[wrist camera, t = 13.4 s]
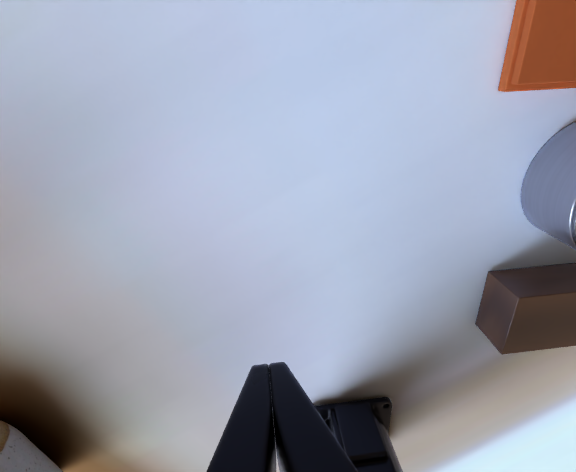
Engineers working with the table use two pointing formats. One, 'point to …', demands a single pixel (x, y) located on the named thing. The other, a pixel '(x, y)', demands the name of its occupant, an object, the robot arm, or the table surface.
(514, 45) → the terracotta tray
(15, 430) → the ceramic mug
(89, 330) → the table surface
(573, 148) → the silver pot
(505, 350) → the walnut block
